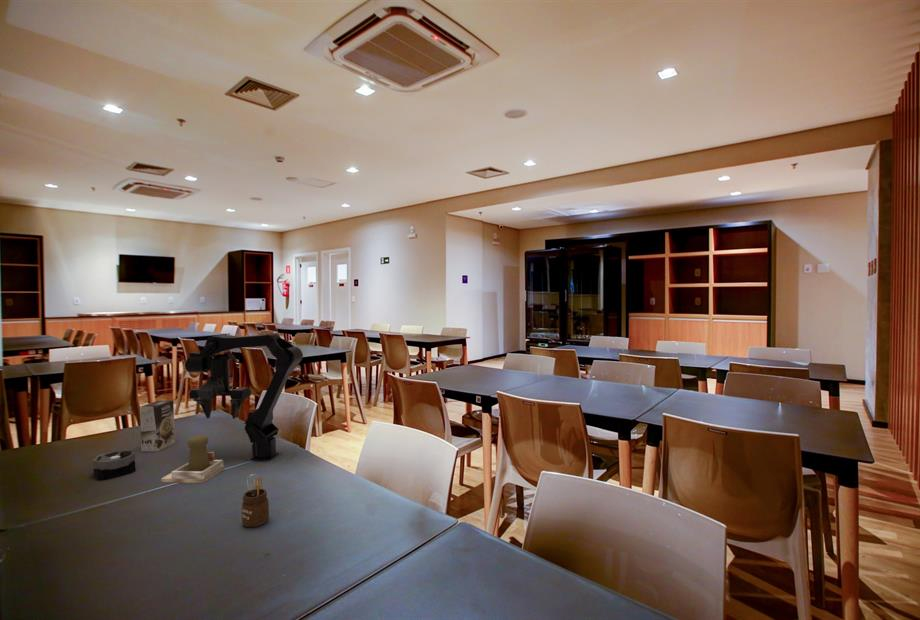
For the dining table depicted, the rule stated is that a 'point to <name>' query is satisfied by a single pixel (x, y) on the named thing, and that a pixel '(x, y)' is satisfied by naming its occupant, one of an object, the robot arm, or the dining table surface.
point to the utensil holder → (255, 505)
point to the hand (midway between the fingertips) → (221, 418)
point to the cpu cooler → (114, 464)
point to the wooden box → (195, 472)
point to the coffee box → (157, 425)
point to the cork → (198, 453)
